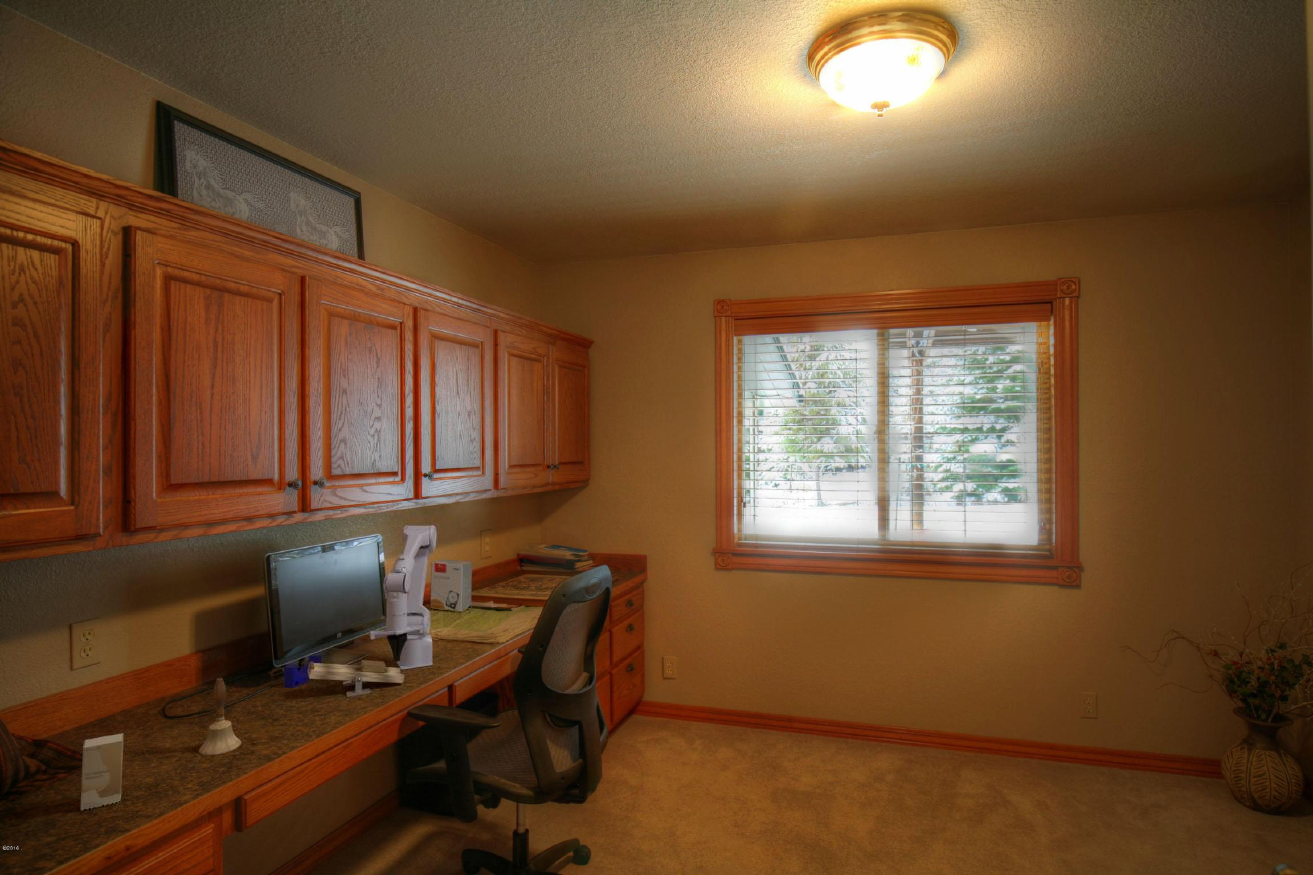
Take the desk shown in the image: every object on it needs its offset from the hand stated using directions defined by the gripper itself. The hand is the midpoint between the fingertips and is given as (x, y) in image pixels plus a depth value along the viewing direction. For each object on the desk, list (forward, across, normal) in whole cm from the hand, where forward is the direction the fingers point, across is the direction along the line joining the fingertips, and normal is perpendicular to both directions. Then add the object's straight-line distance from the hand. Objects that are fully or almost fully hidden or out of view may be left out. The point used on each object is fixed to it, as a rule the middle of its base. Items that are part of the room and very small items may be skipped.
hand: (396, 660), depth 203 cm
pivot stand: (+6, -11, 0) cm, 13 cm away
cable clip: (+7, -24, +16) cm, 30 cm away
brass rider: (+3, -7, 0) cm, 7 cm away
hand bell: (+7, -43, -25) cm, 50 cm away
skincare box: (+7, -62, -42) cm, 75 cm away
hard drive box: (+6, +35, +80) cm, 88 cm away
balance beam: (+2, -11, 0) cm, 11 cm away
